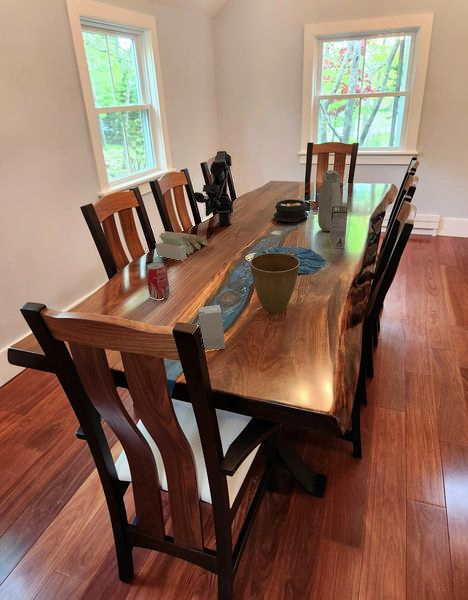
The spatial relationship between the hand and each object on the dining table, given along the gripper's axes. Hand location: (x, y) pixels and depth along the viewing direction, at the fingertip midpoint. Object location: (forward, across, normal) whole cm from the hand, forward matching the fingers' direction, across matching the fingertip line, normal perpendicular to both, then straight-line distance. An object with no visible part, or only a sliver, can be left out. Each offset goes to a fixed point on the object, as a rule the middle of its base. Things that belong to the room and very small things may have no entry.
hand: (206, 215), depth 186 cm
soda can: (+48, +16, -37) cm, 63 cm away
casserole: (-23, +26, +39) cm, 52 cm away
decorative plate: (+15, +46, -4) cm, 49 cm away
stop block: (+27, -2, -12) cm, 29 cm away
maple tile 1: (+13, 0, +2) cm, 13 cm away
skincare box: (+59, +48, -54) cm, 93 cm away
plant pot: (+41, +56, -34) cm, 77 cm away
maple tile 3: (+20, -1, -6) cm, 21 cm away
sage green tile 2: (+17, 0, -3) cm, 17 cm away
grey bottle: (-14, +51, +27) cm, 59 cm away
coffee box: (-2, +60, +13) cm, 61 cm away
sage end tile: (+22, -1, -8) cm, 23 cm away
